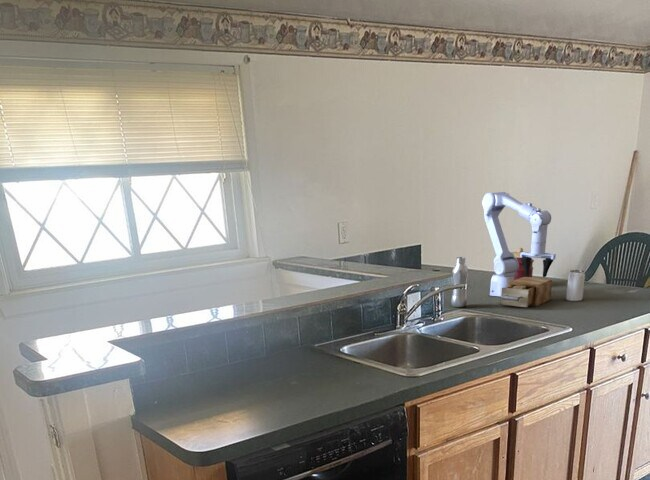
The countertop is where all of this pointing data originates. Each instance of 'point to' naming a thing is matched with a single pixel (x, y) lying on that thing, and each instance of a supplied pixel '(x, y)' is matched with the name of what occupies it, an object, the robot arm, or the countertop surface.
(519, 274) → the kitchen canister
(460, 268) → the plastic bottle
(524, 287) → the block
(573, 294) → the can
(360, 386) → the countertop surface
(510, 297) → the drawer
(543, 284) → the cabinet
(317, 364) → the countertop surface
